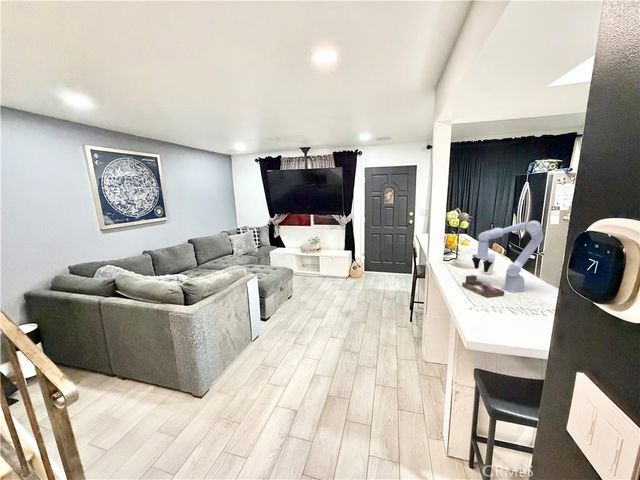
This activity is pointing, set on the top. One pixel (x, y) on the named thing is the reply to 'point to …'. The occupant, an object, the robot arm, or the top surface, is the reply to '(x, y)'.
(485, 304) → the top surface
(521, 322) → the top surface
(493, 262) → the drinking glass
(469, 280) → the sliding frame
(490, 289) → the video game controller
